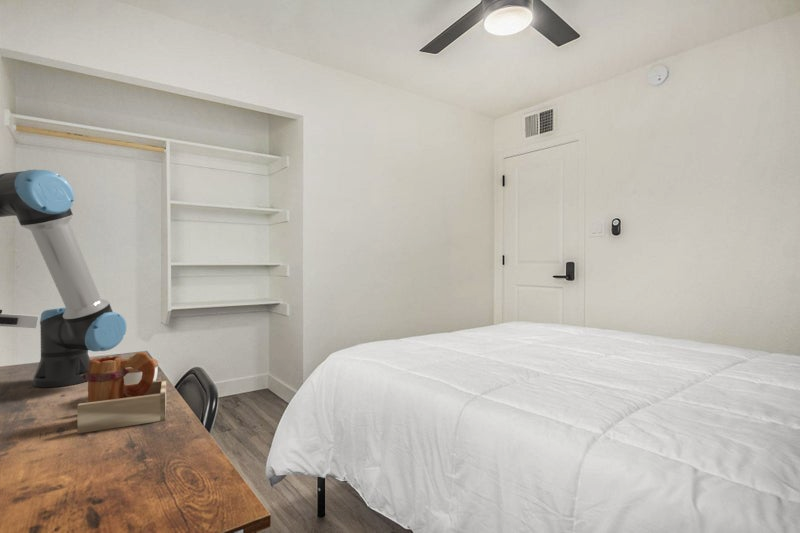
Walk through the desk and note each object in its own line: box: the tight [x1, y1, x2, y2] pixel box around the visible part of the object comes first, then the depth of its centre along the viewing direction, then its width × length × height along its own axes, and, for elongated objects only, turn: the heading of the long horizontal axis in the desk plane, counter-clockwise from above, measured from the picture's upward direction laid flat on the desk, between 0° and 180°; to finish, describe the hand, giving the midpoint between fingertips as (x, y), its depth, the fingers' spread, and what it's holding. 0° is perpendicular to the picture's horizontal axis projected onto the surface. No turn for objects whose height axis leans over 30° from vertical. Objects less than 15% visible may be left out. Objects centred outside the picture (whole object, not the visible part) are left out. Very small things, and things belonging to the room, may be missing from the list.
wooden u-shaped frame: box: [77, 379, 167, 434], centre depth 101 cm, size 15×16×6 cm
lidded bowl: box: [124, 355, 159, 384], centre depth 117 cm, size 13×13×11 cm
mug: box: [82, 351, 155, 403], centre depth 101 cm, size 15×8×15 cm, turn 117°
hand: (37, 321), depth 96 cm, fingers closed
